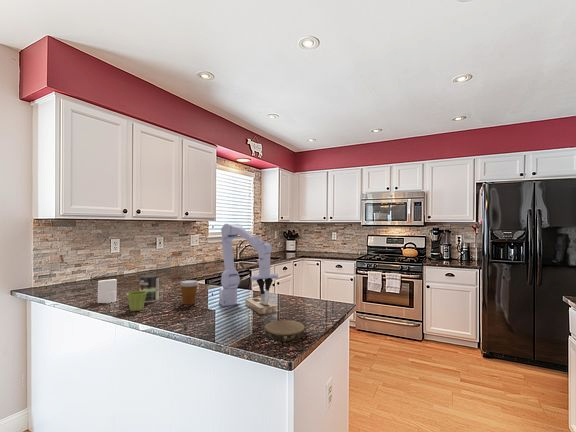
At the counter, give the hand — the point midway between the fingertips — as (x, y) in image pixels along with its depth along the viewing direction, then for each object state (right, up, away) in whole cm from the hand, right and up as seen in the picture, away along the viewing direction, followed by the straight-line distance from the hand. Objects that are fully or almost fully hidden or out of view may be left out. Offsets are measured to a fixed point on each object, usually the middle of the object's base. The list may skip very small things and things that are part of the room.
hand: (264, 293), depth 152 cm
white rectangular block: (-90, -9, +16) cm, 92 cm away
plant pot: (-65, -9, 0) cm, 66 cm away
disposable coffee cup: (-43, -9, +14) cm, 46 cm away
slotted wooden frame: (-2, -9, +4) cm, 10 cm away
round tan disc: (+11, -8, -32) cm, 35 cm away
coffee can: (-68, -9, +19) cm, 71 cm away
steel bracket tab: (0, -5, 0) cm, 5 cm away
